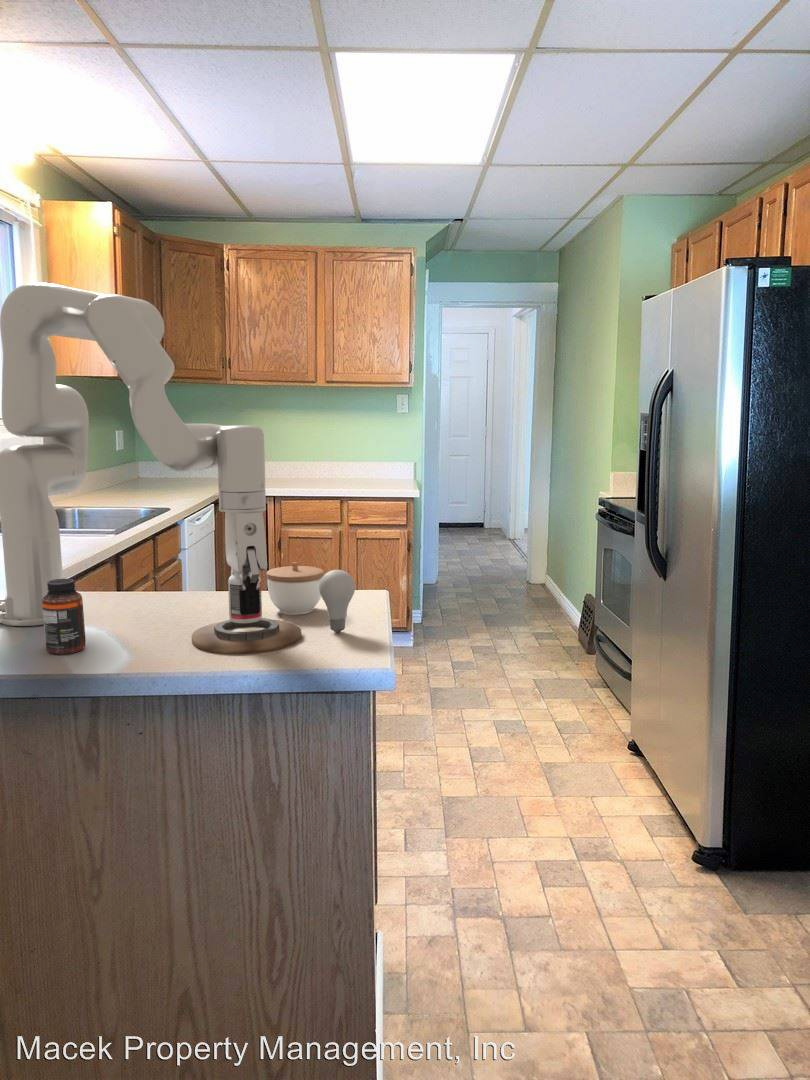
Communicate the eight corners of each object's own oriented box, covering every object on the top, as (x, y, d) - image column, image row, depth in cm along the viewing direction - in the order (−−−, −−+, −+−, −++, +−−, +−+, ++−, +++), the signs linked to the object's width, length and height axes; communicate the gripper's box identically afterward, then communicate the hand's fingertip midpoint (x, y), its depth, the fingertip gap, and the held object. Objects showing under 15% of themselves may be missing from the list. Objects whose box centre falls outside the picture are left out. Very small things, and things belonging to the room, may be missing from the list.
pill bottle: (267, 621, 138) (266, 563, 136) (236, 625, 135) (235, 566, 133) (254, 614, 142) (252, 558, 141) (224, 618, 139) (222, 561, 138)
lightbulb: (323, 638, 138) (322, 574, 137) (316, 629, 144) (315, 567, 142) (359, 636, 140) (358, 572, 138) (351, 626, 146) (350, 565, 144)
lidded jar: (335, 610, 158) (335, 562, 156) (291, 621, 150) (290, 570, 149) (300, 601, 165) (299, 555, 164) (256, 611, 157) (254, 562, 156)
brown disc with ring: (203, 659, 127) (202, 645, 127) (183, 631, 143) (182, 618, 143) (315, 645, 134) (315, 632, 134) (284, 620, 151) (284, 608, 150)
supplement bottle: (74, 642, 136) (69, 575, 134) (93, 649, 132) (89, 580, 131) (38, 651, 132) (33, 581, 130) (57, 658, 128) (52, 586, 126)
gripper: (279, 506, 129) (281, 619, 132) (252, 495, 144) (255, 596, 147) (231, 508, 126) (234, 624, 129) (209, 497, 141) (212, 600, 144)
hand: (245, 608), depth 138 cm, fingers closed on pill bottle, 5 cm apart
